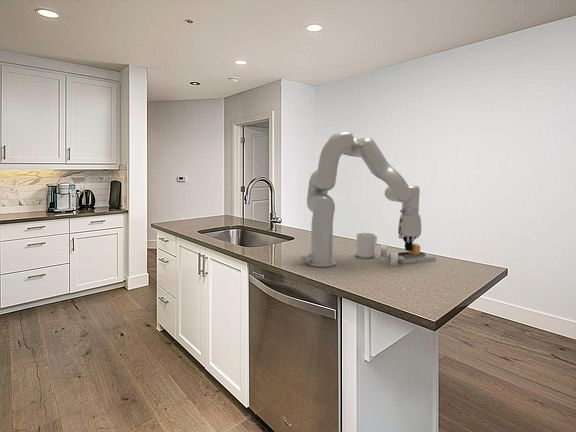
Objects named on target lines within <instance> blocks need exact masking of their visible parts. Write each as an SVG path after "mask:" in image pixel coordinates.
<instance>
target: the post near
mask: <svg viewBox="0 0 576 432" xmlns="http://www.w3.org/2000/svg"><path fill="white" fill-rule="evenodd" d="M398 253H399V252H398V251H391V252H390V254H391V259H390V267H393V268H394V267H395V268H396V267H398V263H399V262H398Z"/></svg>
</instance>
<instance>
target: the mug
mask: <svg viewBox="0 0 576 432" xmlns="http://www.w3.org/2000/svg"><path fill="white" fill-rule="evenodd" d="M377 240H378V236H377V235H376V234H374V233H371V232H368V233H367V232H359V233H356V243H355V244H356V245H355V246H356V248H355V251H356V252H355V253H356V254H355V255H356V256H357V257H358V258H361V259H373V257H375V252H376V251H375V249H376V248H377Z"/></svg>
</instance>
